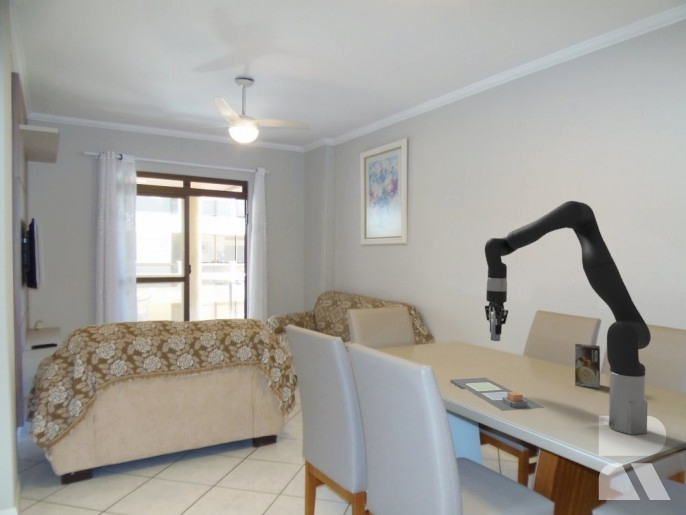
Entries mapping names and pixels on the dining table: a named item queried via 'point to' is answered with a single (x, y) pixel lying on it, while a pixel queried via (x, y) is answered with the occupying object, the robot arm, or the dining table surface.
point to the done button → (514, 396)
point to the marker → (493, 335)
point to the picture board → (493, 393)
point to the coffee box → (587, 365)
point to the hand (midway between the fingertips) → (495, 333)
